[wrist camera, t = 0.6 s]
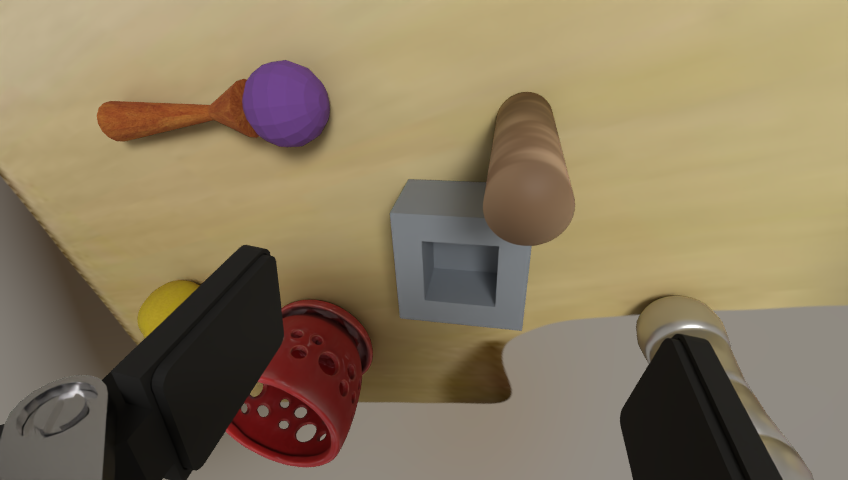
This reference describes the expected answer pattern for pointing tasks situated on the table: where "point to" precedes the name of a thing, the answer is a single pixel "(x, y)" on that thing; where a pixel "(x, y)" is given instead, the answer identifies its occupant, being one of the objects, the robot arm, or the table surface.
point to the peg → (527, 174)
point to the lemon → (163, 304)
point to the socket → (455, 258)
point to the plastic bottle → (704, 323)
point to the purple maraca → (235, 109)
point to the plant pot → (308, 386)
